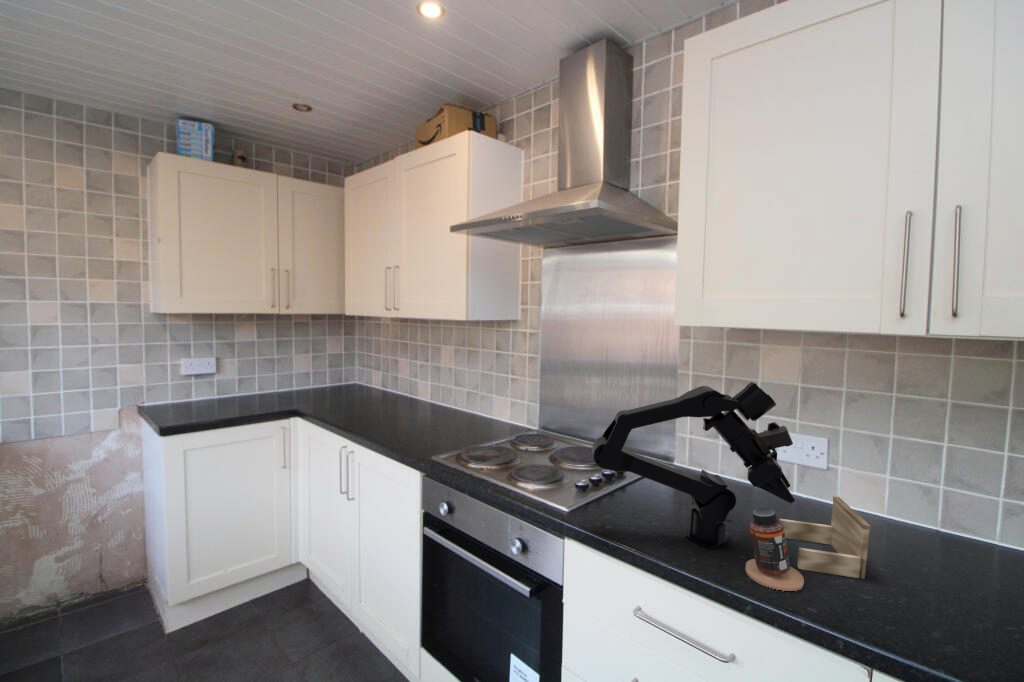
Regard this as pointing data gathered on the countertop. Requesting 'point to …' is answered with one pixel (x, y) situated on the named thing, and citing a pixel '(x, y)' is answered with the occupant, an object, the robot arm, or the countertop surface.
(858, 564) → the wooden bench
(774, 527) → the supplement bottle
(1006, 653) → the countertop surface
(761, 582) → the peach rounded disc
